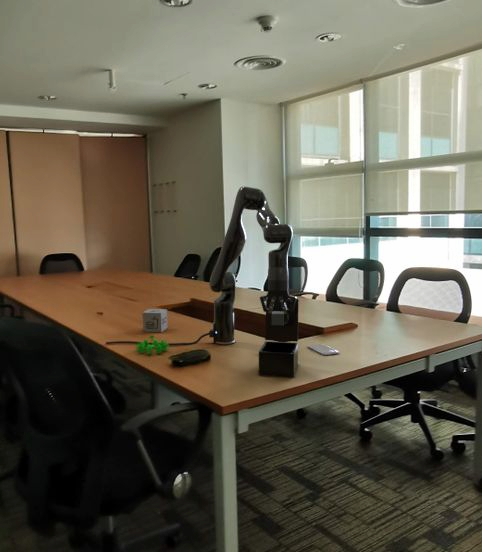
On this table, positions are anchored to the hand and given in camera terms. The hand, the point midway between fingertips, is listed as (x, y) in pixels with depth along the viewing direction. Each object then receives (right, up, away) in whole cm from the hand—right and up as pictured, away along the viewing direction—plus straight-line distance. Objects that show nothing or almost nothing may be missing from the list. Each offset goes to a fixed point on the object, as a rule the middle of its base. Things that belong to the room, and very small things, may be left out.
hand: (278, 323), depth 184 cm
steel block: (0, 0, 0) cm, 0 cm away
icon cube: (-54, -11, +75) cm, 93 cm away
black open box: (+1, -18, +3) cm, 18 cm away
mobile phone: (+23, -15, +29) cm, 40 cm away
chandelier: (-51, -16, +33) cm, 63 cm away
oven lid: (+3, 0, +10) cm, 10 cm away
